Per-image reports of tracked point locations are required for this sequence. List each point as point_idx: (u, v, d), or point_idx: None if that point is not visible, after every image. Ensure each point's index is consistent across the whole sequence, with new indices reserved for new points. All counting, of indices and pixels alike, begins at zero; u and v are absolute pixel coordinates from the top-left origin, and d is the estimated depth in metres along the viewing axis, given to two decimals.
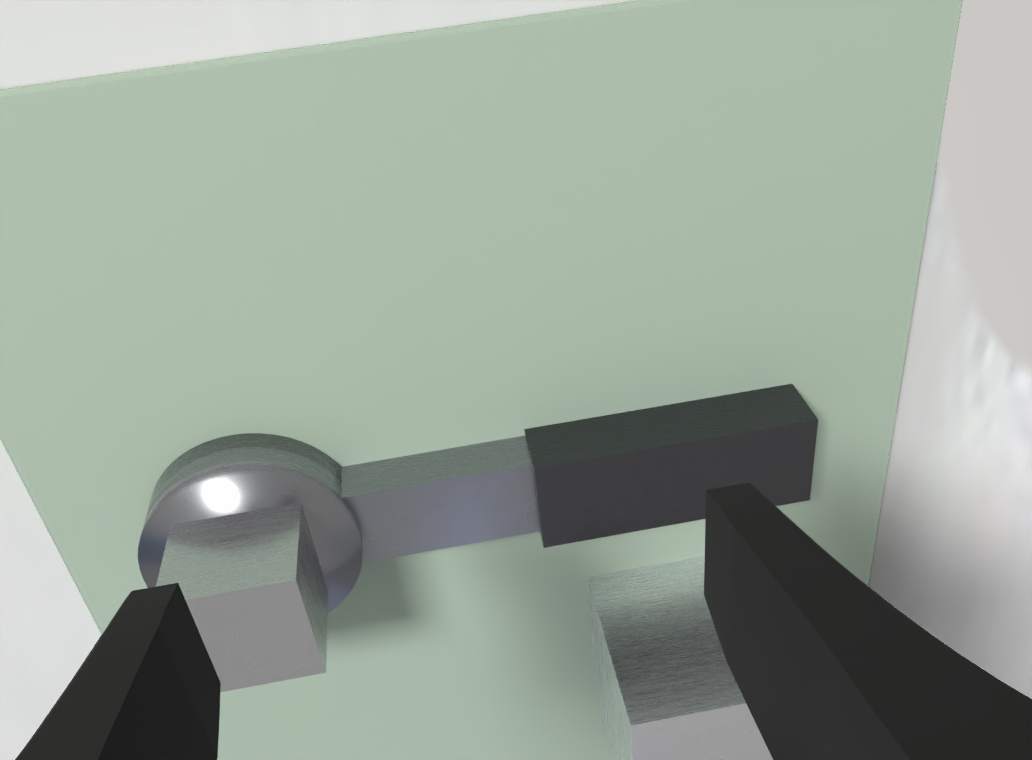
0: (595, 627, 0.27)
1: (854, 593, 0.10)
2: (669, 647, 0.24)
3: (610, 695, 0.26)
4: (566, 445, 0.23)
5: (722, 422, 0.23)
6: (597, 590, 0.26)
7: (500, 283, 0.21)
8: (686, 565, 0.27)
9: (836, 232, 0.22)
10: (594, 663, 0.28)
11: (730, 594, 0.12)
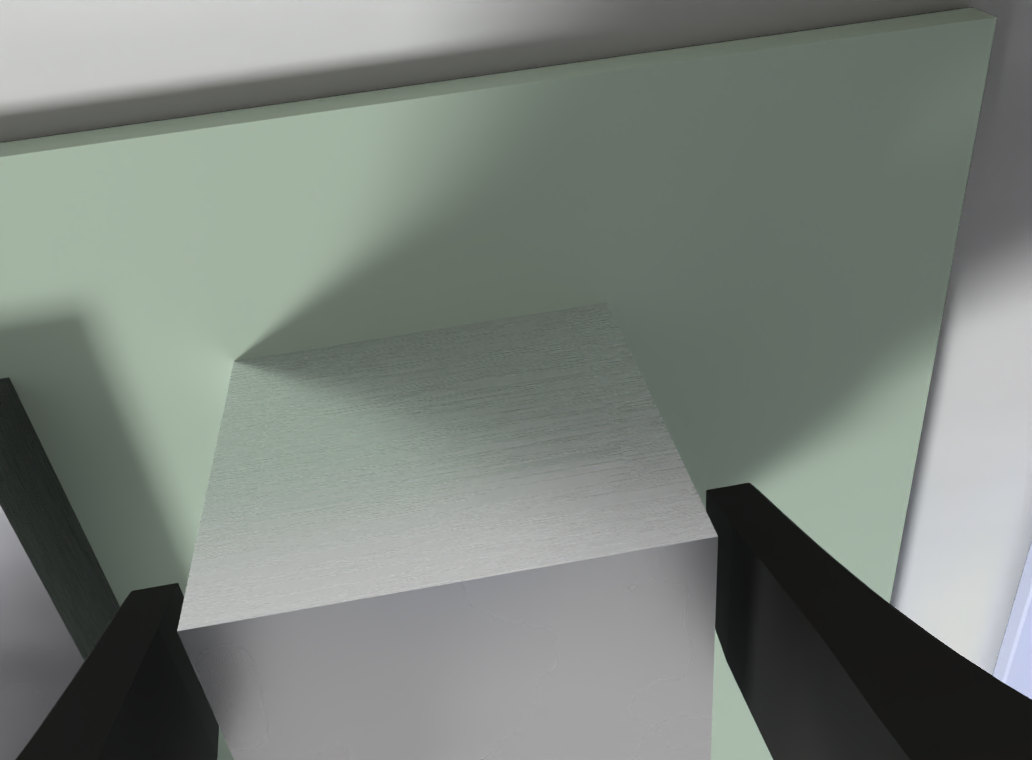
0: None
1: (854, 593, 0.10)
2: None
3: None
4: None
5: None
6: None
7: None
8: None
9: None
10: None
11: (730, 594, 0.12)
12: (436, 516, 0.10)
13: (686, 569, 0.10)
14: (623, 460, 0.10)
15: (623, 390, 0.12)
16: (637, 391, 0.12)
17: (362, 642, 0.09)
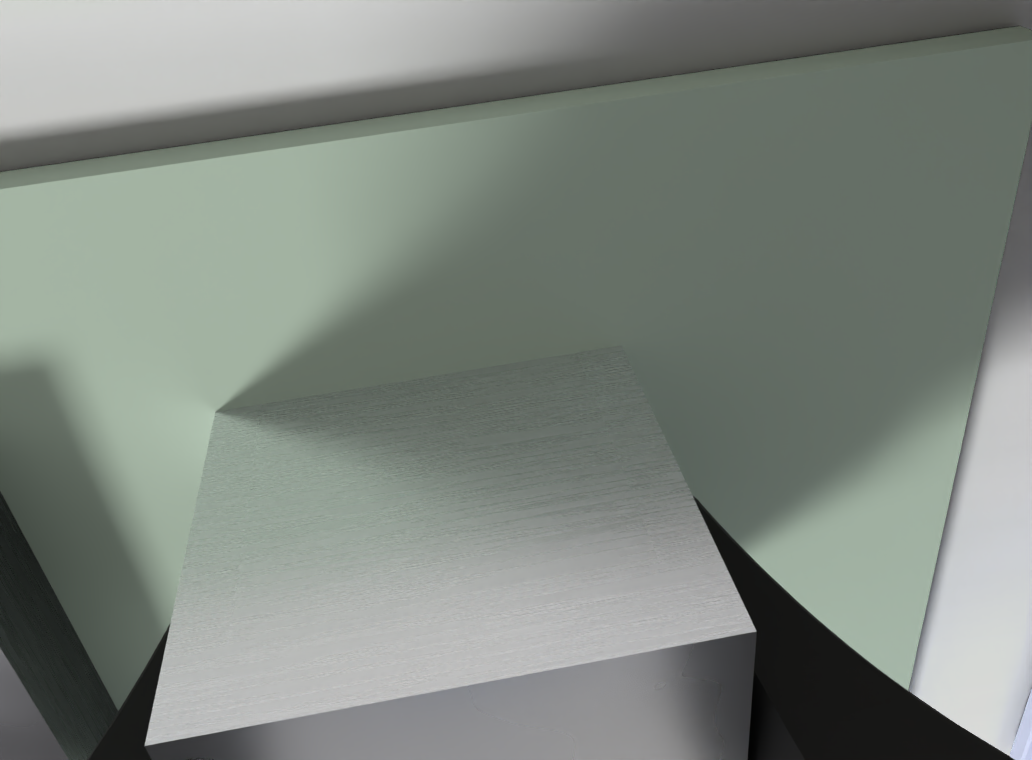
0: None
1: (780, 607, 0.10)
2: None
3: None
4: None
5: None
6: None
7: None
8: None
9: None
10: None
11: None
12: (438, 603, 0.09)
13: (720, 666, 0.08)
14: (646, 535, 0.09)
15: (642, 450, 0.11)
16: (658, 451, 0.10)
17: (355, 751, 0.08)
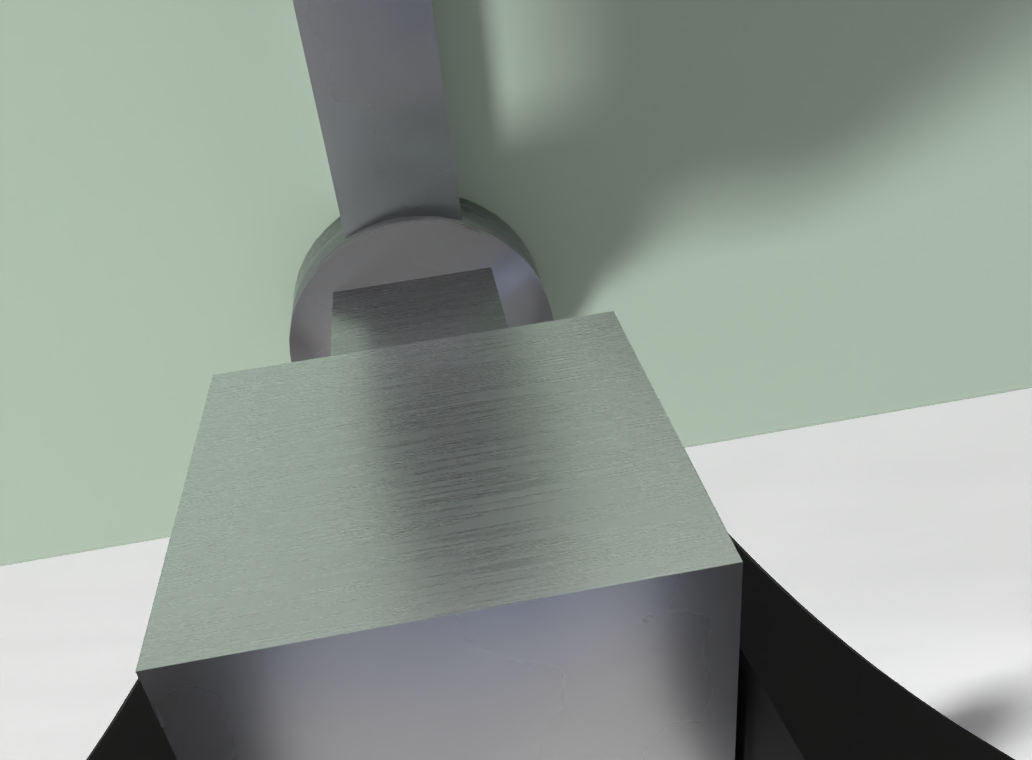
0: None
1: (780, 606, 0.10)
2: None
3: None
4: None
5: None
6: None
7: (28, 2, 0.15)
8: None
9: None
10: None
11: None
12: (428, 541, 0.09)
13: (707, 599, 0.09)
14: (635, 478, 0.10)
15: (633, 403, 0.11)
16: (648, 404, 0.11)
17: (345, 683, 0.08)
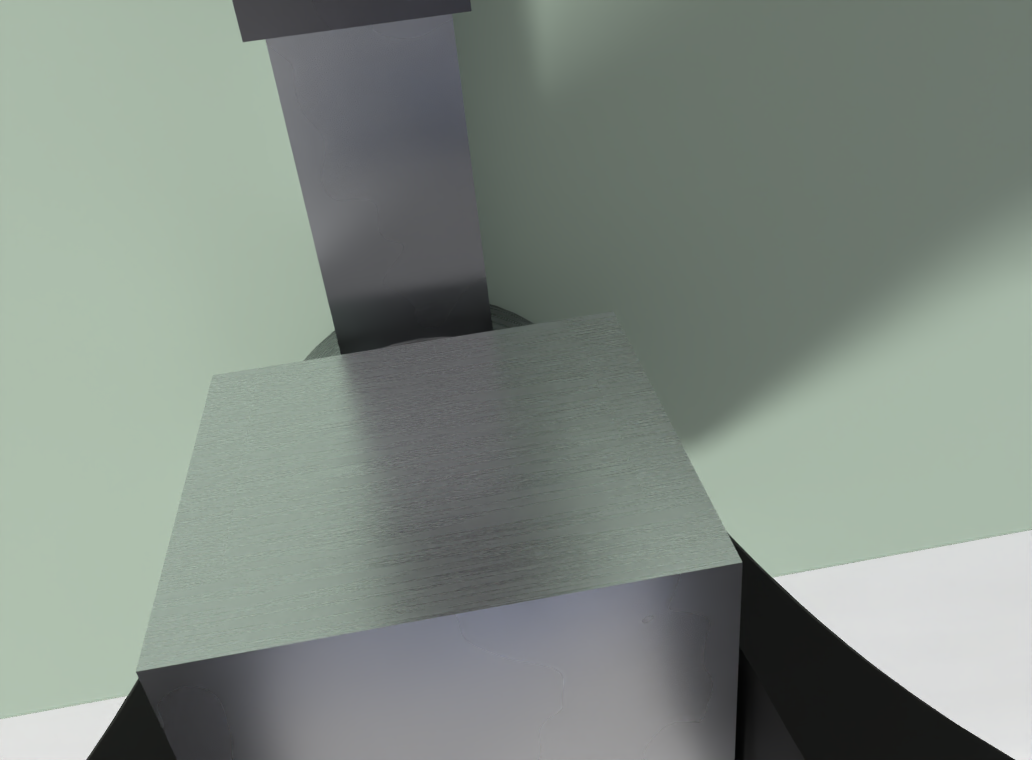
0: None
1: (780, 607, 0.10)
2: None
3: None
4: None
5: None
6: None
7: None
8: None
9: None
10: None
11: None
12: (428, 541, 0.09)
13: (707, 599, 0.09)
14: (634, 479, 0.10)
15: (632, 404, 0.11)
16: (648, 404, 0.11)
17: (345, 683, 0.08)
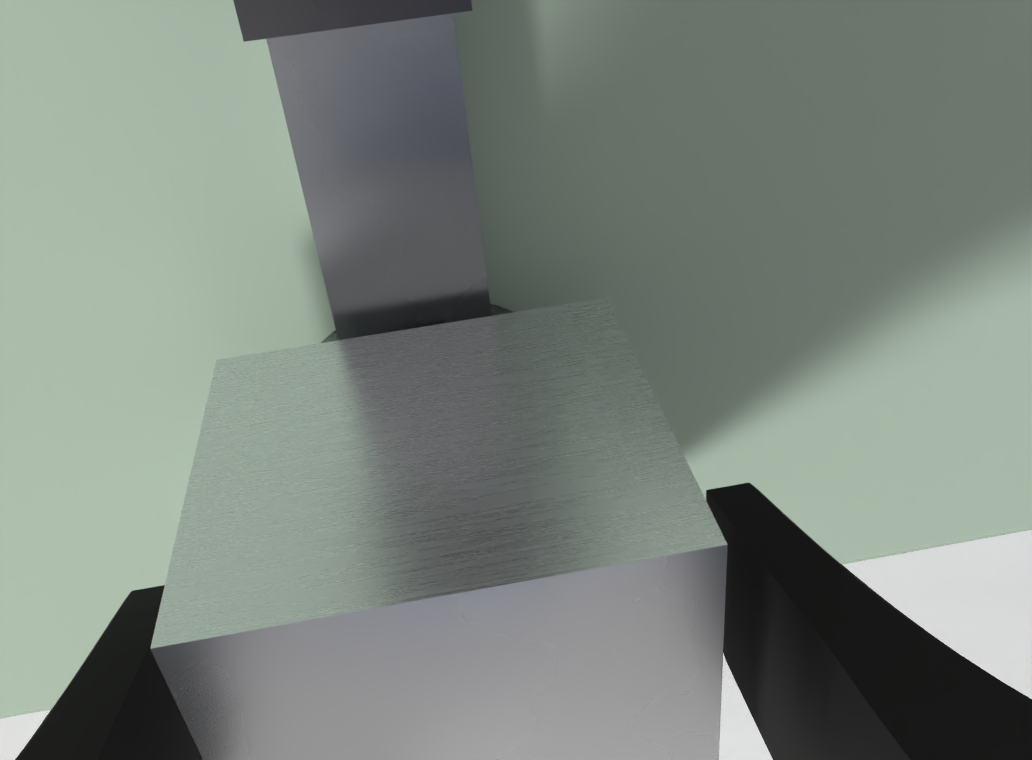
0: None
1: (854, 593, 0.10)
2: None
3: None
4: None
5: None
6: None
7: None
8: None
9: None
10: None
11: (730, 594, 0.12)
12: (428, 524, 0.09)
13: (694, 579, 0.09)
14: (626, 463, 0.10)
15: (624, 390, 0.11)
16: (639, 390, 0.11)
17: (349, 659, 0.09)
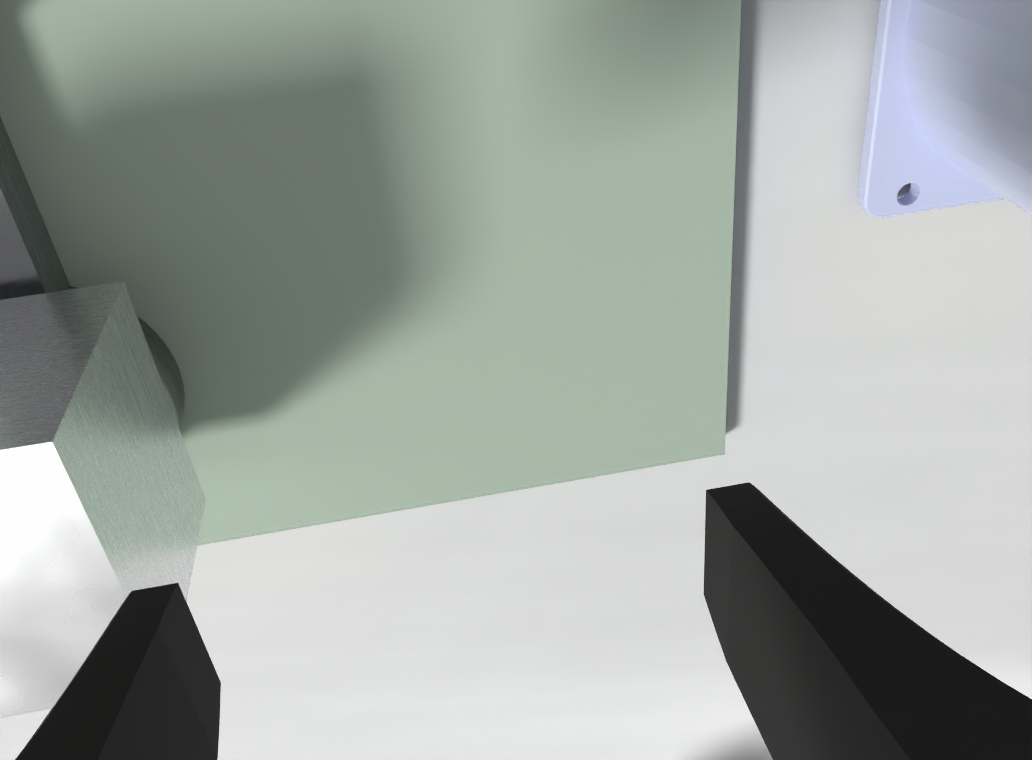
0: None
1: (854, 593, 0.10)
2: None
3: None
4: None
5: None
6: None
7: None
8: None
9: None
10: None
11: (730, 594, 0.12)
12: None
13: (39, 466, 0.13)
14: (34, 393, 0.14)
15: (76, 345, 0.15)
16: (86, 345, 0.15)
17: None
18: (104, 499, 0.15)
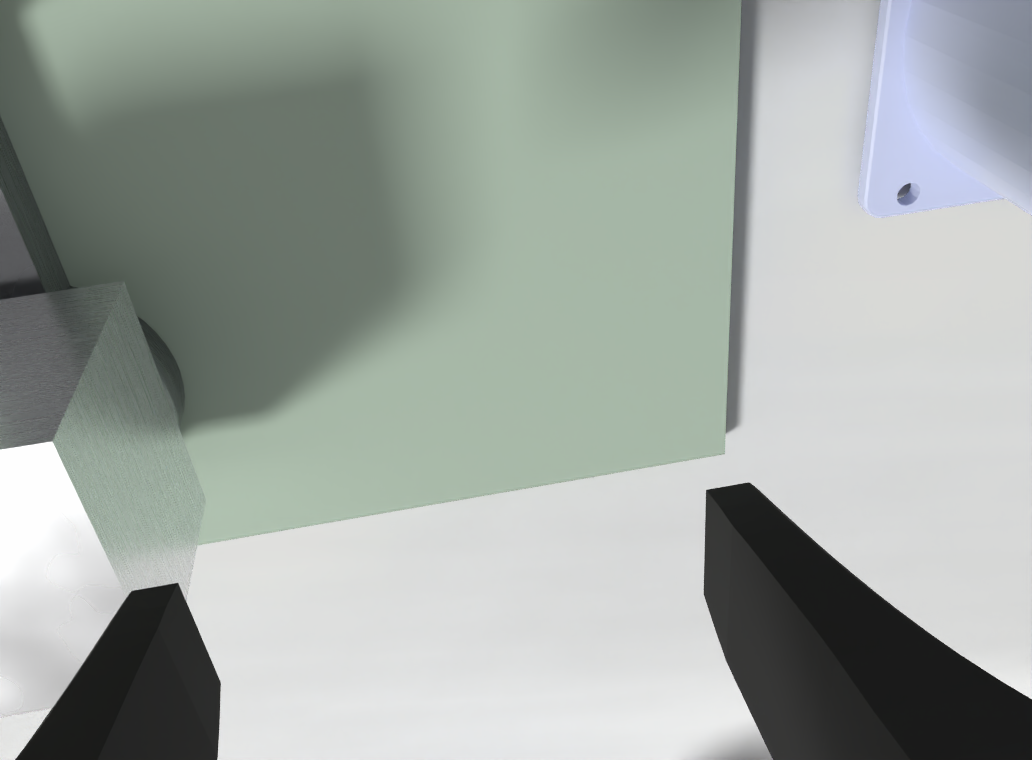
0: None
1: (854, 593, 0.10)
2: None
3: None
4: None
5: None
6: None
7: None
8: None
9: None
10: None
11: (730, 594, 0.12)
12: None
13: (39, 466, 0.13)
14: (35, 393, 0.14)
15: (77, 345, 0.15)
16: (86, 345, 0.15)
17: None
18: (104, 499, 0.15)
